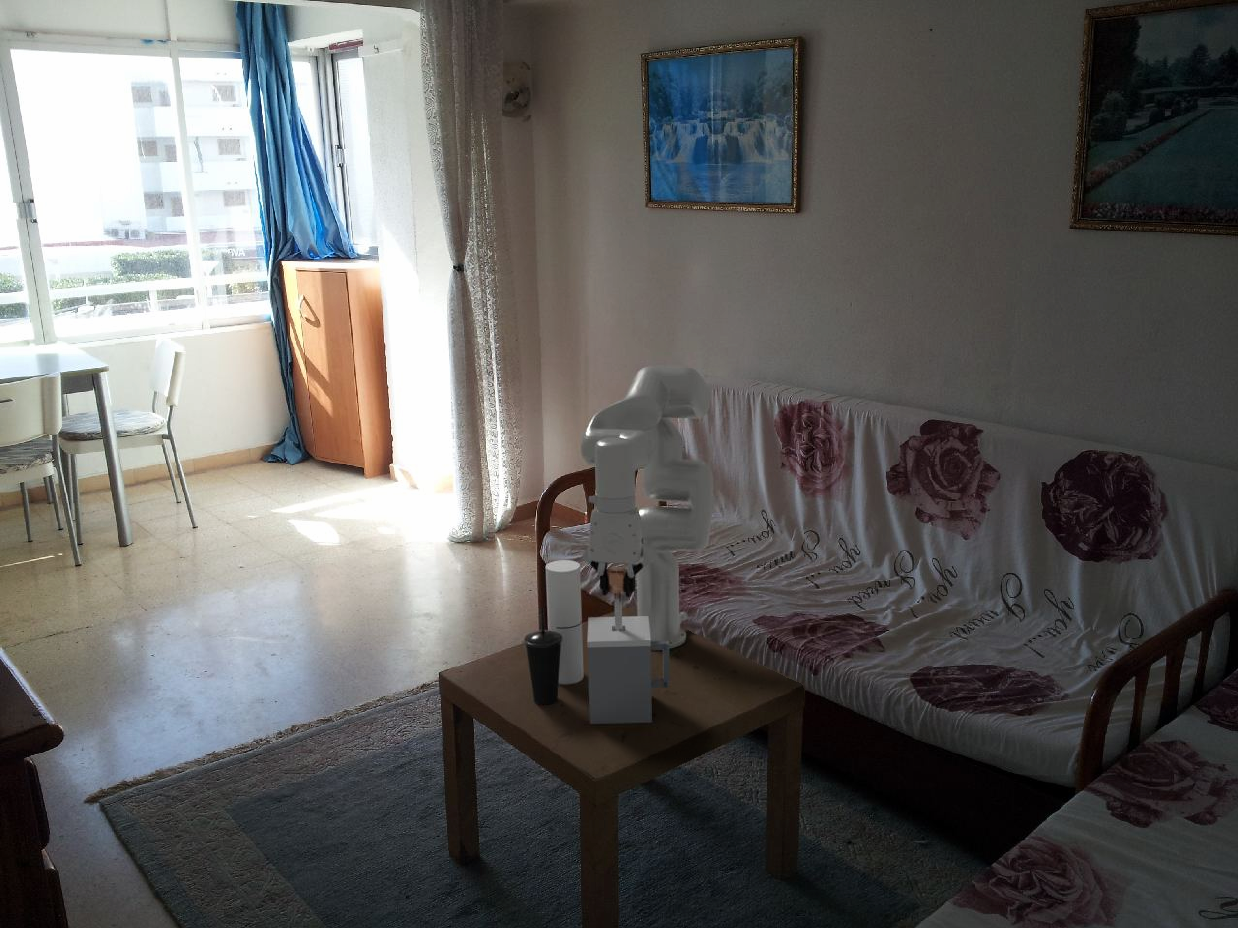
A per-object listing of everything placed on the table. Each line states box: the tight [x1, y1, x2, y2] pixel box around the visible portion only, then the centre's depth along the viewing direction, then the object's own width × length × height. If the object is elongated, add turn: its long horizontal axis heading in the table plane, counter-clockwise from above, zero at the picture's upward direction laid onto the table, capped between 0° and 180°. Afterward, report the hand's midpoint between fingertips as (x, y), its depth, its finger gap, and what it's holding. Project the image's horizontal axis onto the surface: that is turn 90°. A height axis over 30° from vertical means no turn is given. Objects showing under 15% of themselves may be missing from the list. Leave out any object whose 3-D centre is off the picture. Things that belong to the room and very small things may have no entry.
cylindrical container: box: [545, 559, 585, 685], centre depth 224 cm, size 7×7×25 cm
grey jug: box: [586, 615, 671, 725], centre depth 211 cm, size 16×12×17 cm
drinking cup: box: [523, 607, 562, 707], centre depth 215 cm, size 8×8×20 cm
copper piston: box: [607, 566, 628, 631], centre depth 208 cm, size 9×9×23 cm
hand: (617, 592), depth 207 cm, fingers closed on copper piston, 4 cm apart
